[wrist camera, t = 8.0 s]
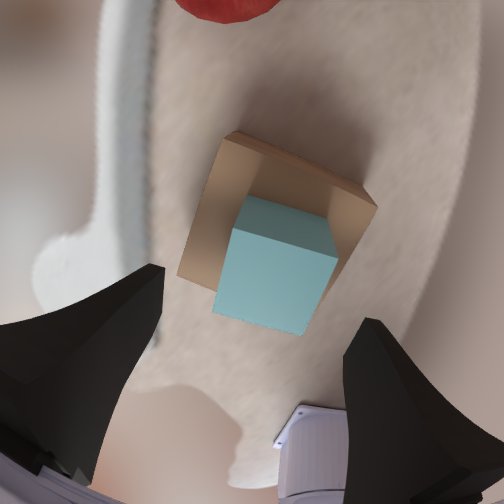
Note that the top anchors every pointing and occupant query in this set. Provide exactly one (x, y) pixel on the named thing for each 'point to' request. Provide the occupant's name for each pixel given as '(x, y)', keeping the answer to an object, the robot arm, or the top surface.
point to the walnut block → (275, 190)
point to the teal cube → (275, 266)
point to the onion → (227, 9)
